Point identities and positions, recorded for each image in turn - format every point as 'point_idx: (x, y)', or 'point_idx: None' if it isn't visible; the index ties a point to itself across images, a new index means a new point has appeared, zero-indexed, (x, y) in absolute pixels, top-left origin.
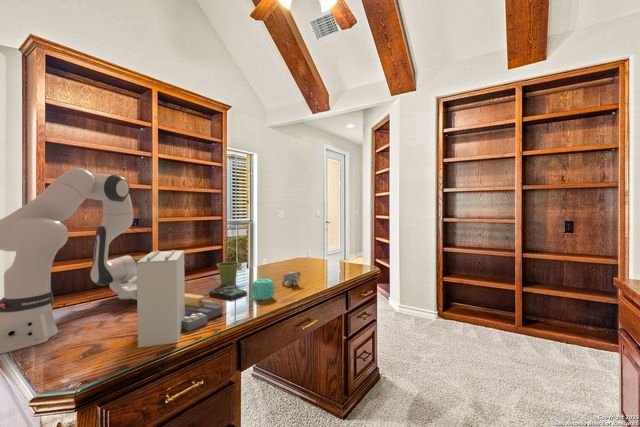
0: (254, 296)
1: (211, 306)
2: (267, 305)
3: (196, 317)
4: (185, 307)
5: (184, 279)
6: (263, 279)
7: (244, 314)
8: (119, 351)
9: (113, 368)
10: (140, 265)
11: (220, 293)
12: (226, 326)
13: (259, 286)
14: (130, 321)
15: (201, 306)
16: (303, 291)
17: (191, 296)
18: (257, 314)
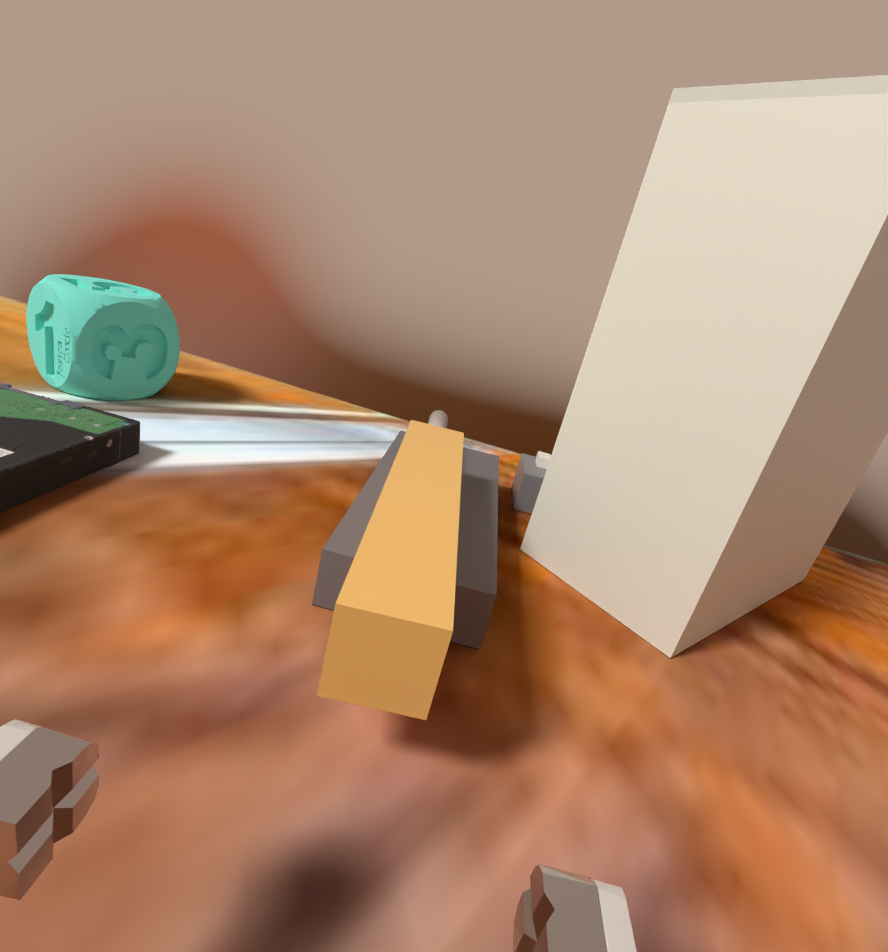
0: (120, 388)
1: None
2: (247, 390)
3: None
4: (490, 517)
5: (597, 318)
6: (62, 279)
7: (374, 428)
8: (874, 611)
9: (883, 575)
10: None
11: (46, 454)
12: (500, 453)
13: (172, 318)
14: (815, 819)
15: None
16: (17, 321)
17: (448, 451)
18: (362, 411)
